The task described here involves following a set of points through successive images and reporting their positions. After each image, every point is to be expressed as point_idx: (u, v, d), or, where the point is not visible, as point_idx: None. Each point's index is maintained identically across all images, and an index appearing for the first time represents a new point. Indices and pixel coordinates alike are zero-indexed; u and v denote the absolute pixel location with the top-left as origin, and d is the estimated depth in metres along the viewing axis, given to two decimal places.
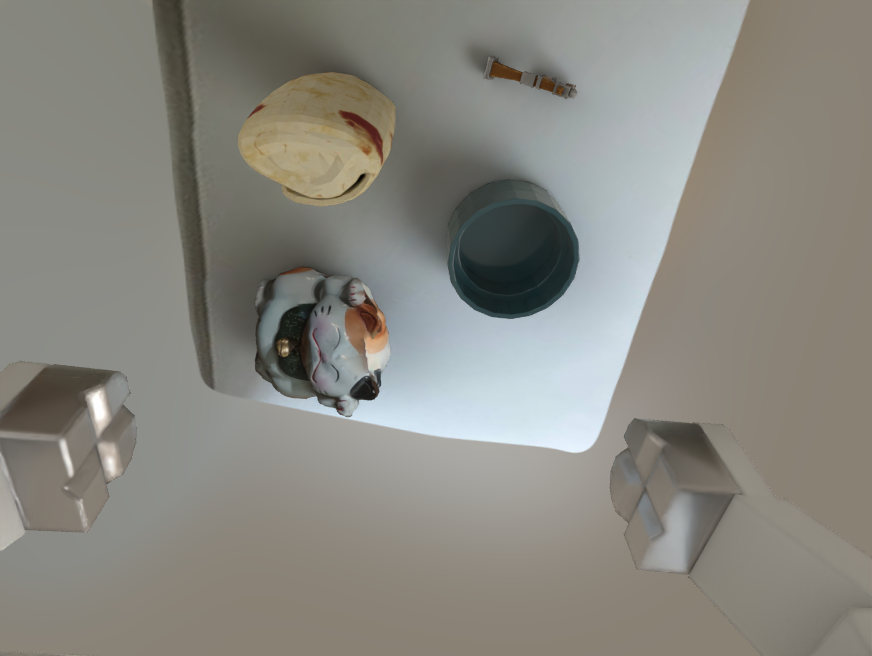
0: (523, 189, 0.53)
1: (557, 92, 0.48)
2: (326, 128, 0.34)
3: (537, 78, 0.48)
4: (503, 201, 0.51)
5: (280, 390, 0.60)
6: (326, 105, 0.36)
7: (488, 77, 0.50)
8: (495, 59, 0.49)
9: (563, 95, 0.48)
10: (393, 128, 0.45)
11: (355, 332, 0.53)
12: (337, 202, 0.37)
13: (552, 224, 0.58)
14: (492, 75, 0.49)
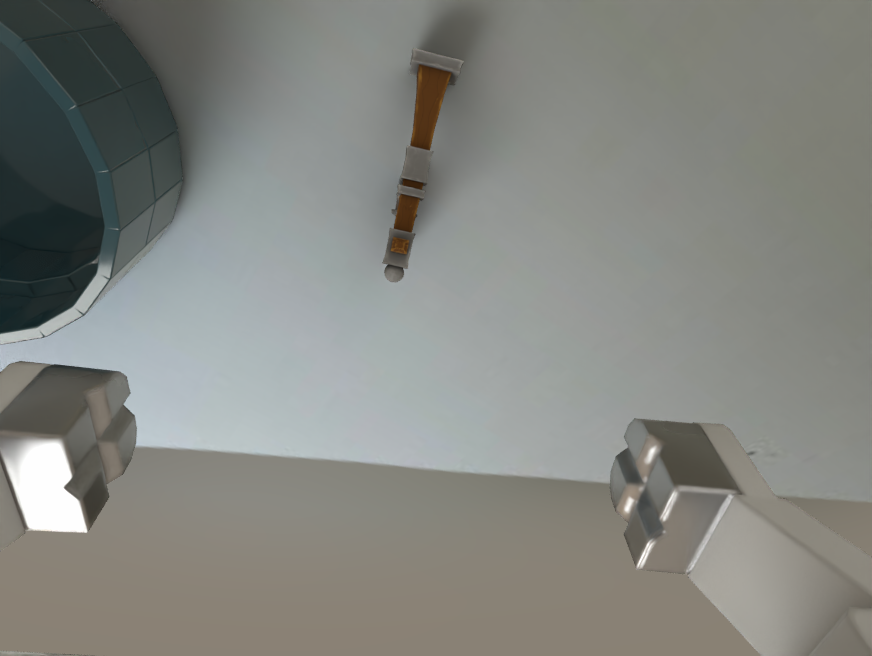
0: (153, 177, 0.20)
1: (395, 242, 0.20)
2: None
3: (420, 188, 0.21)
4: (89, 133, 0.17)
5: None
6: None
7: (416, 62, 0.20)
8: (454, 78, 0.21)
9: (389, 254, 0.21)
10: None
11: None
12: None
13: (96, 242, 0.25)
14: (421, 72, 0.20)
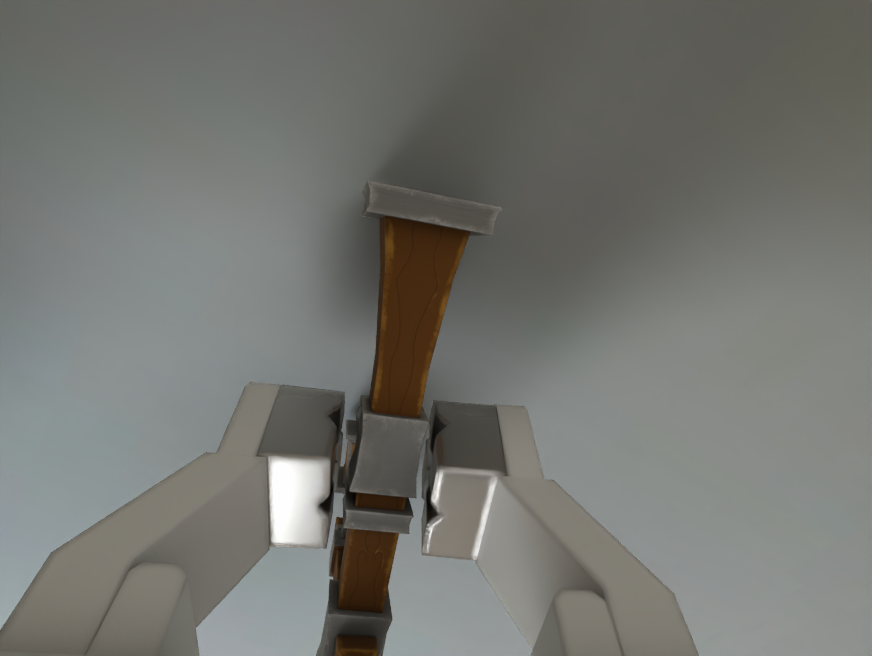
0: None
1: None
2: None
3: (400, 507, 0.08)
4: None
5: None
6: None
7: (378, 212, 0.08)
8: (472, 234, 0.08)
9: None
10: None
11: None
12: None
13: None
14: (391, 236, 0.08)
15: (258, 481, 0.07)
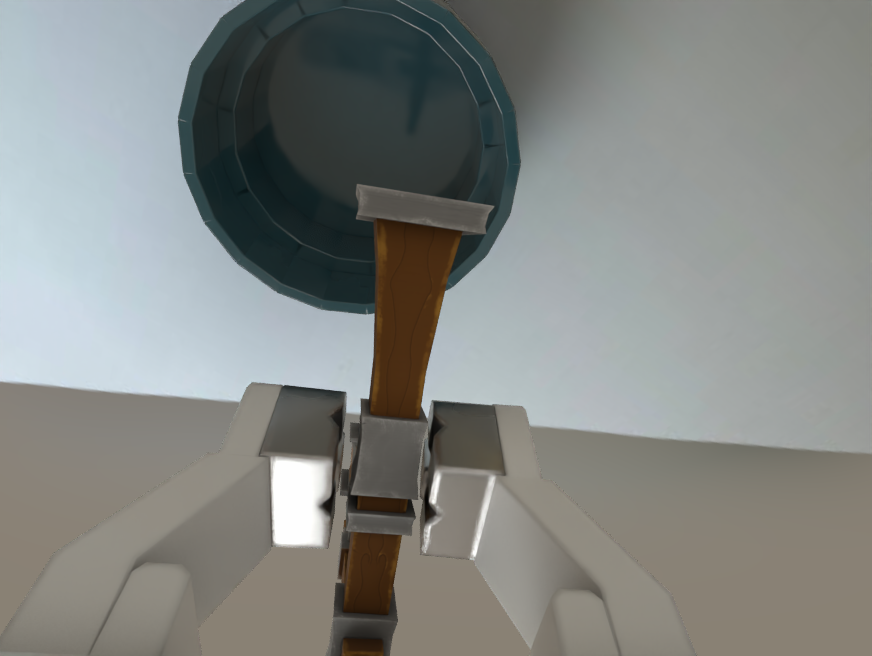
0: None
1: None
2: None
3: (402, 509, 0.08)
4: (515, 131, 0.20)
5: None
6: None
7: (369, 215, 0.08)
8: (466, 233, 0.08)
9: None
10: None
11: None
12: None
13: None
14: (383, 238, 0.08)
15: (260, 481, 0.07)
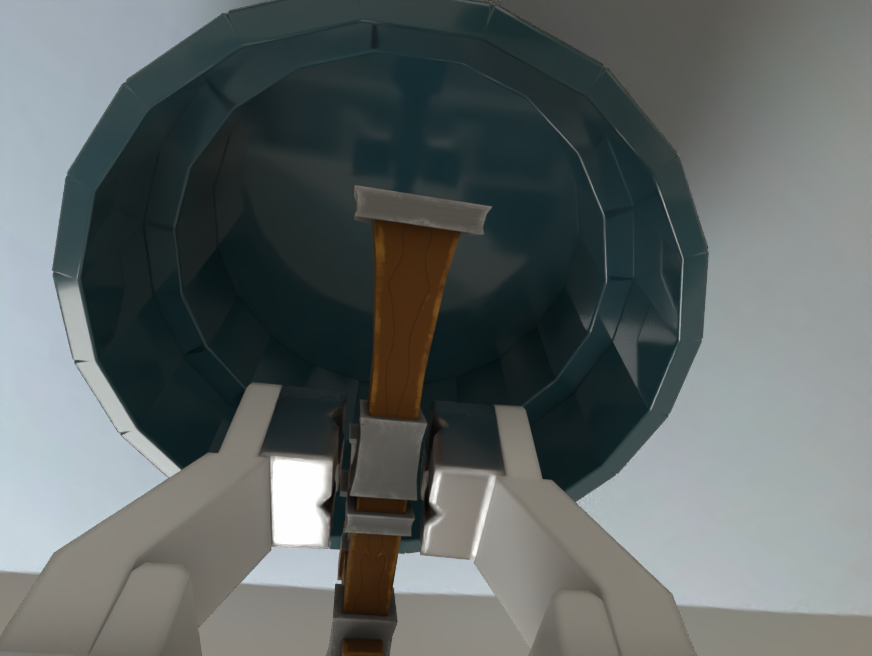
0: None
1: None
2: None
3: (401, 510, 0.08)
4: (703, 288, 0.11)
5: None
6: None
7: (367, 216, 0.08)
8: (464, 234, 0.08)
9: None
10: None
11: None
12: None
13: (452, 372, 0.18)
14: (381, 239, 0.08)
15: (260, 481, 0.07)
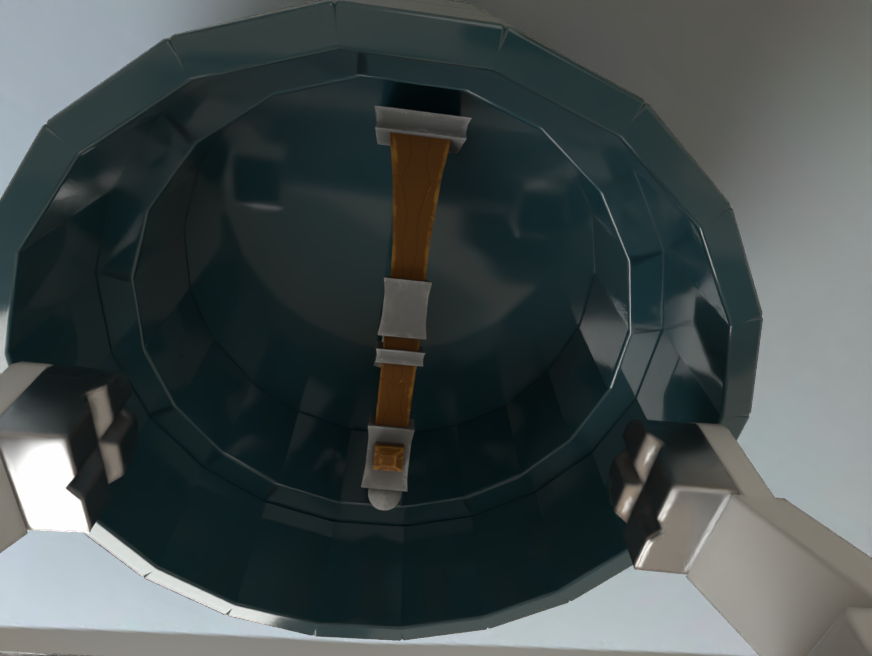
0: None
1: (379, 455, 0.11)
2: None
3: (415, 348, 0.12)
4: (754, 358, 0.09)
5: None
6: None
7: (384, 129, 0.11)
8: (456, 146, 0.12)
9: (371, 471, 0.12)
10: None
11: None
12: None
13: (453, 420, 0.17)
14: (395, 147, 0.11)
15: None
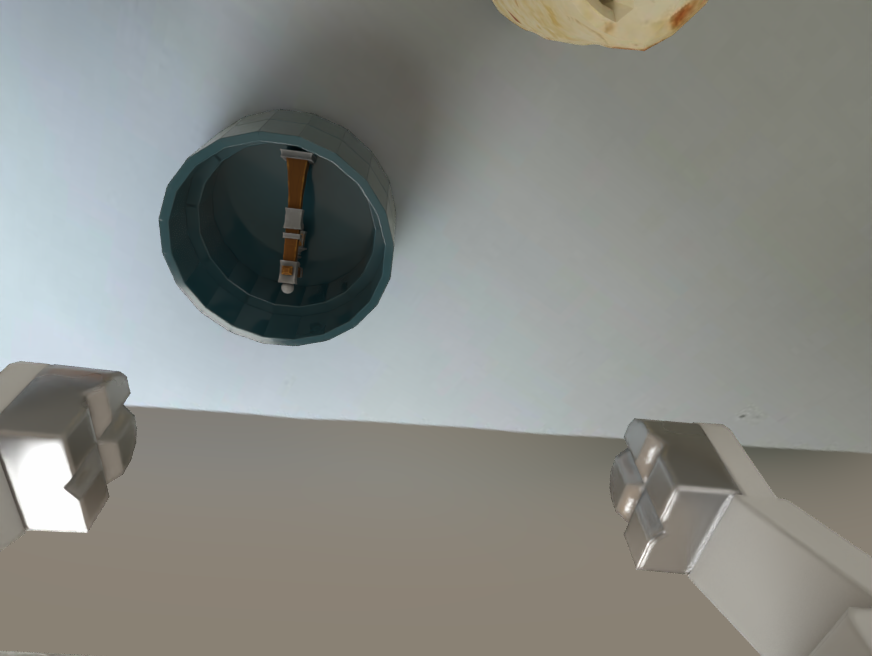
0: None
1: (283, 268, 0.33)
2: None
3: (297, 232, 0.33)
4: (388, 226, 0.30)
5: None
6: None
7: (284, 156, 0.32)
8: (311, 161, 0.33)
9: (281, 276, 0.33)
10: None
11: None
12: None
13: (327, 280, 0.38)
14: (288, 162, 0.32)
15: None
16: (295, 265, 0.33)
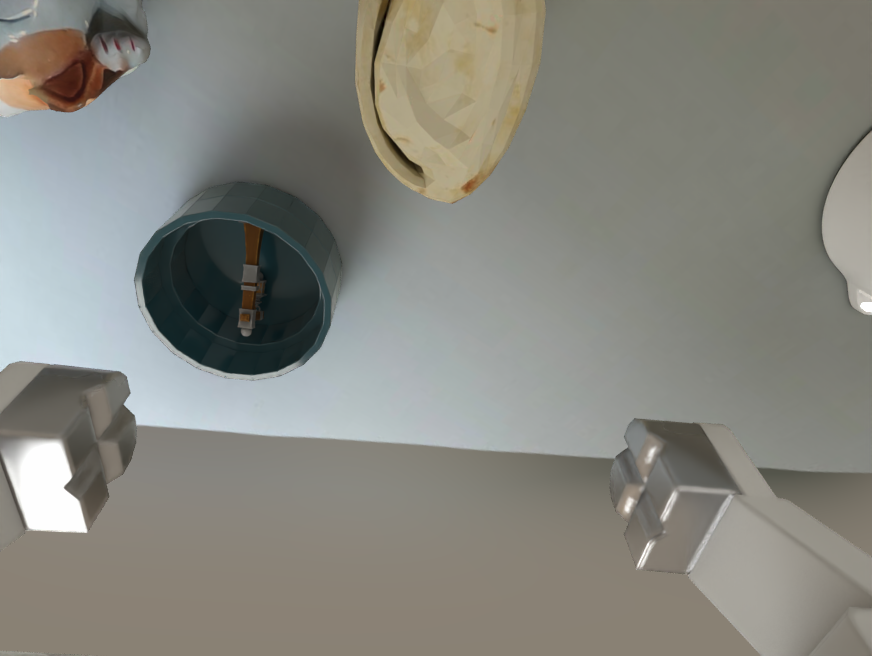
0: (336, 293, 0.40)
1: (241, 316, 0.38)
2: (513, 116, 0.18)
3: (253, 285, 0.39)
4: (325, 283, 0.36)
5: None
6: None
7: (241, 222, 0.38)
8: None
9: (240, 322, 0.39)
10: None
11: (32, 56, 0.26)
12: (368, 122, 0.19)
13: (286, 319, 0.44)
14: (245, 226, 0.38)
15: None
16: (252, 313, 0.39)
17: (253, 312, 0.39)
